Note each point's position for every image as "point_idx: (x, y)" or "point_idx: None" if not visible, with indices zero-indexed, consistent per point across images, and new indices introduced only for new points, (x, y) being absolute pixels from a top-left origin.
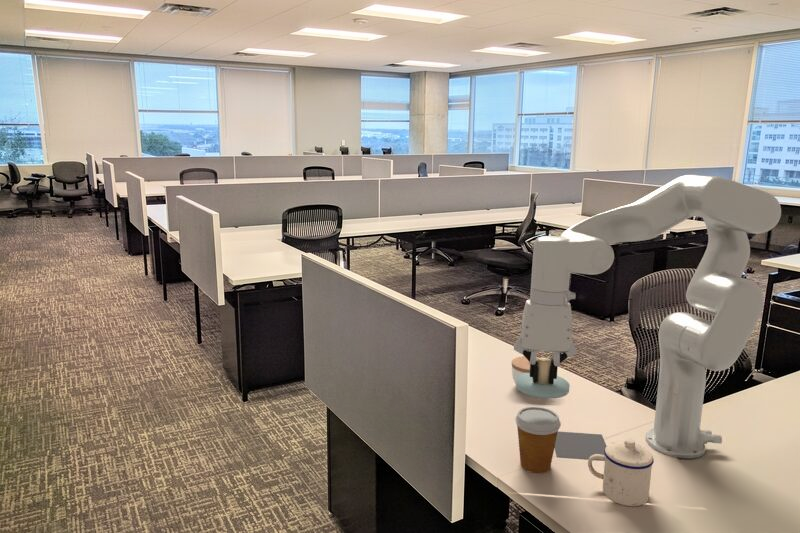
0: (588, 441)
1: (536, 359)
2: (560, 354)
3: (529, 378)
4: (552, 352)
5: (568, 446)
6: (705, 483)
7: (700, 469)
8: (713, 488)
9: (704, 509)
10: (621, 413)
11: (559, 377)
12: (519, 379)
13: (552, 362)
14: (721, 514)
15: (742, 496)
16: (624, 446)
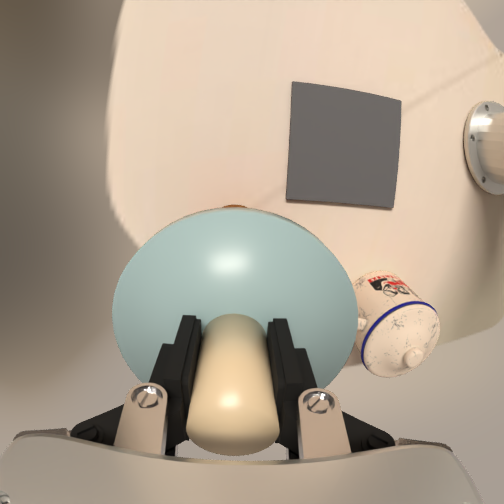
0: (369, 129)
1: (180, 419)
2: (351, 452)
3: (171, 309)
4: (300, 450)
5: (321, 151)
6: (482, 257)
7: (493, 221)
8: (483, 268)
9: (449, 316)
10: (444, 24)
11: (335, 272)
12: (126, 323)
13: (282, 443)
14: (458, 322)
15: (497, 281)
16: (401, 358)
